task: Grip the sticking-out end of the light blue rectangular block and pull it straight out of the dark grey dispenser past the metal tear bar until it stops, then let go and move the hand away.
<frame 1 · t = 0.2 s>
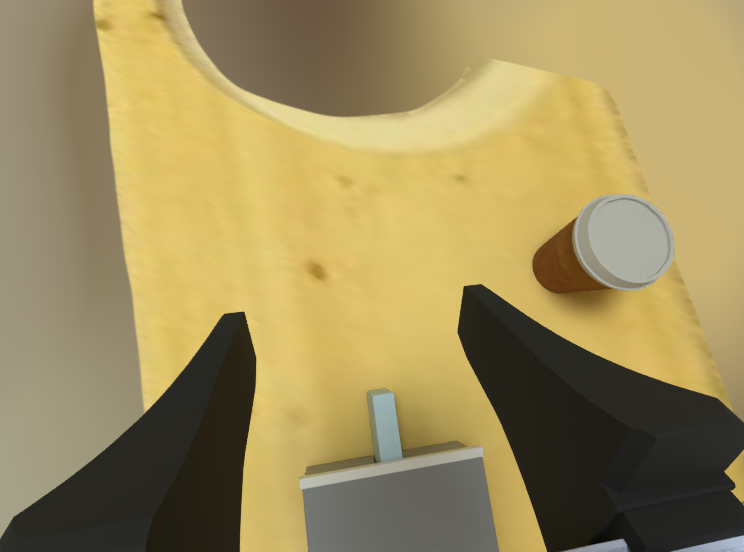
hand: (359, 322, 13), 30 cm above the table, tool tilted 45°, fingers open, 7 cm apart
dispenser: (391, 510, 40), on the table
light blue rectangular block: (389, 466, 38), point 3 cm above the table, slide at 0.0 cm
disposable coffee cup: (555, 268, 48), on the table
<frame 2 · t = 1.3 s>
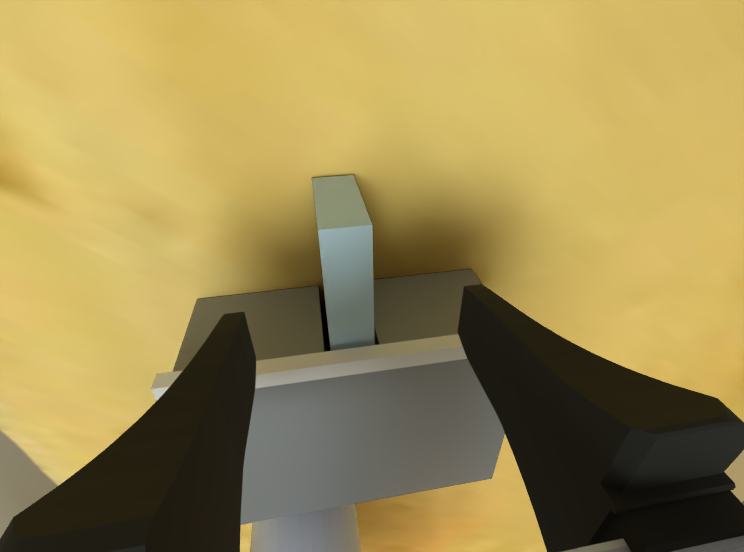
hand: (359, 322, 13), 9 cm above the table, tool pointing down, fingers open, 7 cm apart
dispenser: (345, 351, 26), on the table
light blue rectangular block: (347, 323, 20), point 3 cm above the table, slide at 0.0 cm
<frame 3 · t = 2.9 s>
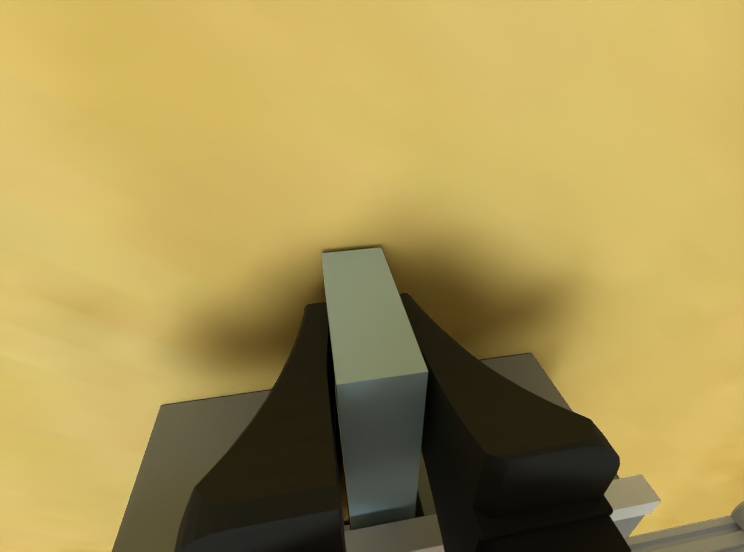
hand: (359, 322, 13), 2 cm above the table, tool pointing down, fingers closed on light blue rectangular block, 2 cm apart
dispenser: (361, 451, 20), on the table
light blue rectangular block: (369, 449, 15), point 3 cm above the table, slide at 0.0 cm, touching gripper
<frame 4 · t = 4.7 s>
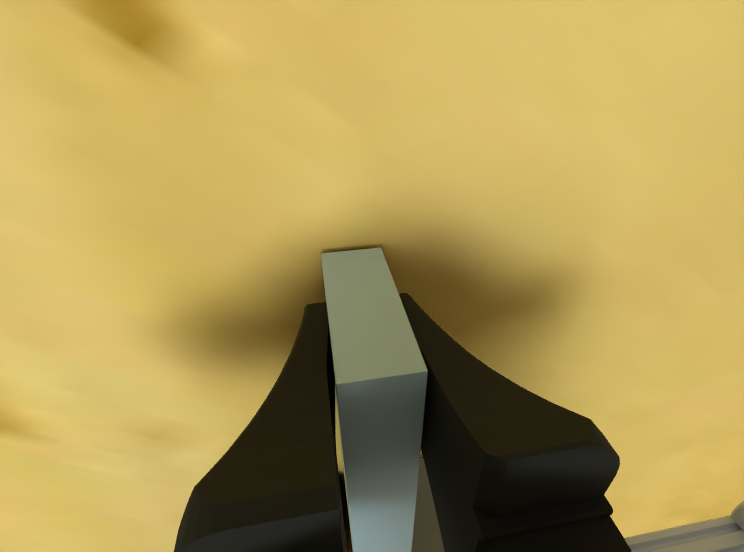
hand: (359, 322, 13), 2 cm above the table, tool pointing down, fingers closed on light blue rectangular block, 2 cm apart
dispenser: (365, 517, 24), on the table
light blue rectangular block: (369, 449, 15), point 3 cm above the table, slide at 7.0 cm, touching gripper
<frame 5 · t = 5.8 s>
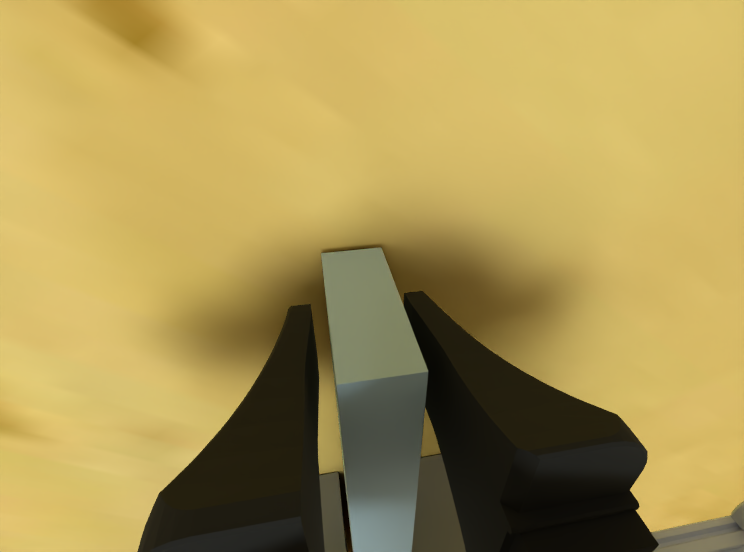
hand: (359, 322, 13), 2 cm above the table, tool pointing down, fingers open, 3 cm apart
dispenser: (365, 517, 24), on the table
light blue rectangular block: (369, 449, 15), point 3 cm above the table, slide at 7.0 cm
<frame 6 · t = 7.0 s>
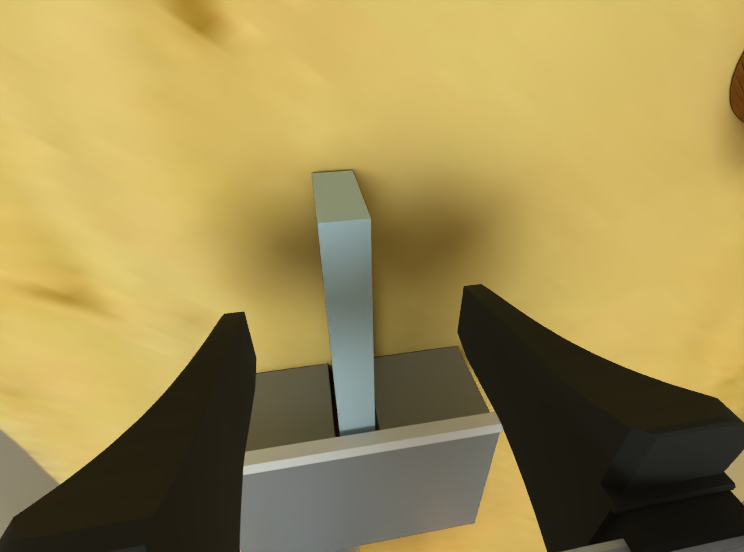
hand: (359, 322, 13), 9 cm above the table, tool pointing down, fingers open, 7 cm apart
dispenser: (350, 411, 30), on the table
light blue rectangular block: (346, 317, 21), point 3 cm above the table, slide at 7.0 cm
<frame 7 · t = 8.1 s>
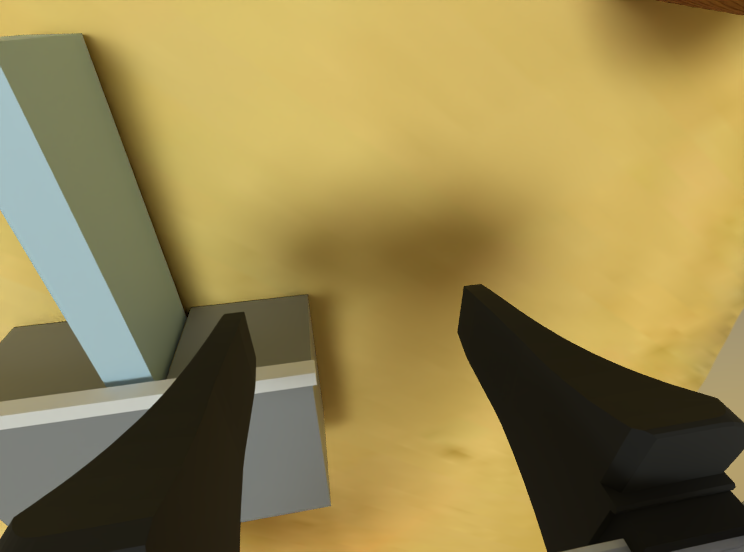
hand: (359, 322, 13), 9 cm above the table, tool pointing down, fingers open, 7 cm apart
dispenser: (193, 375, 25), on the table
light blue rectangular block: (99, 234, 16), point 3 cm above the table, slide at 7.0 cm
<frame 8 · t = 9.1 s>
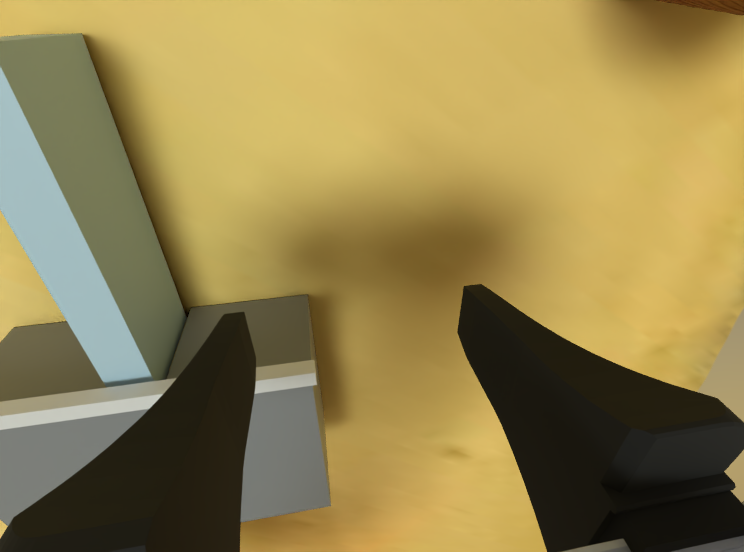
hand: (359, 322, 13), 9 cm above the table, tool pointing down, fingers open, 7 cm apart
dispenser: (193, 375, 25), on the table
light blue rectangular block: (99, 234, 16), point 3 cm above the table, slide at 7.0 cm
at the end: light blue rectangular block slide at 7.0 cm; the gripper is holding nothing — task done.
